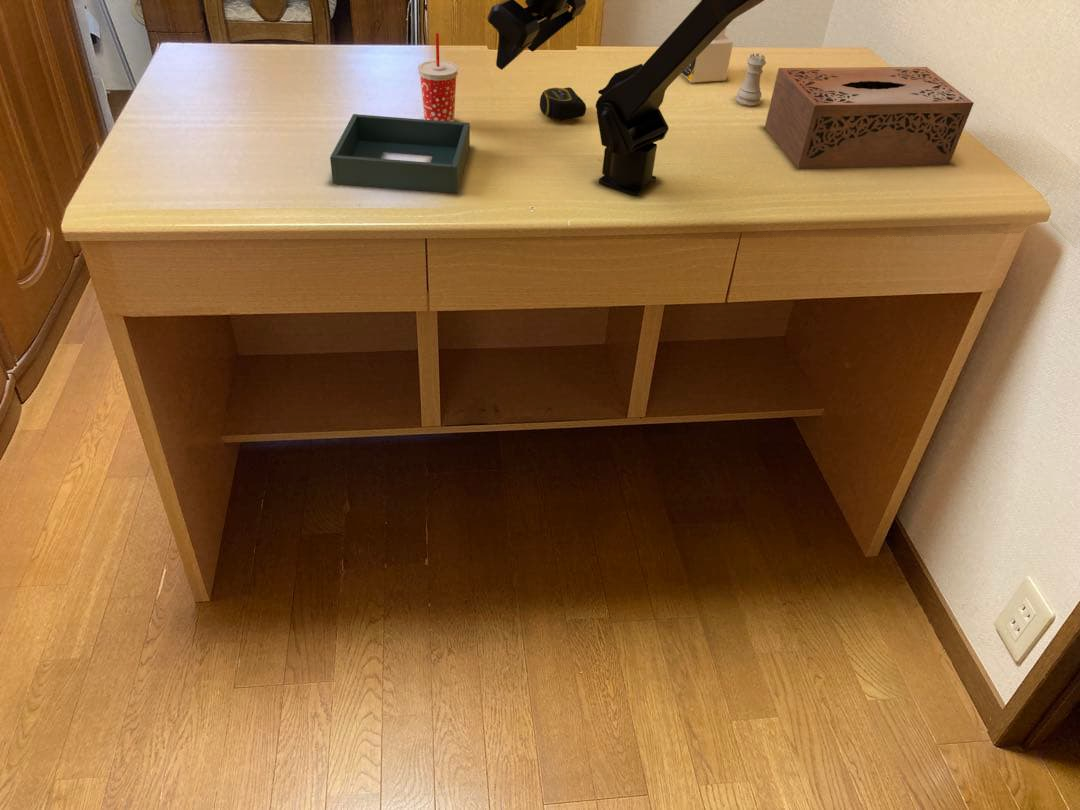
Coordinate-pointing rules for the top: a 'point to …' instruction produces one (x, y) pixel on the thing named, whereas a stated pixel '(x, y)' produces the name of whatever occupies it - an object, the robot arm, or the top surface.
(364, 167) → the crate
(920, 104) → the tissue box cover
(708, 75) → the medicine bottle
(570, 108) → the tape measure
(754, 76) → the rook chess piece
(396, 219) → the top surface
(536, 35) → the robot arm
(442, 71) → the beverage cup
